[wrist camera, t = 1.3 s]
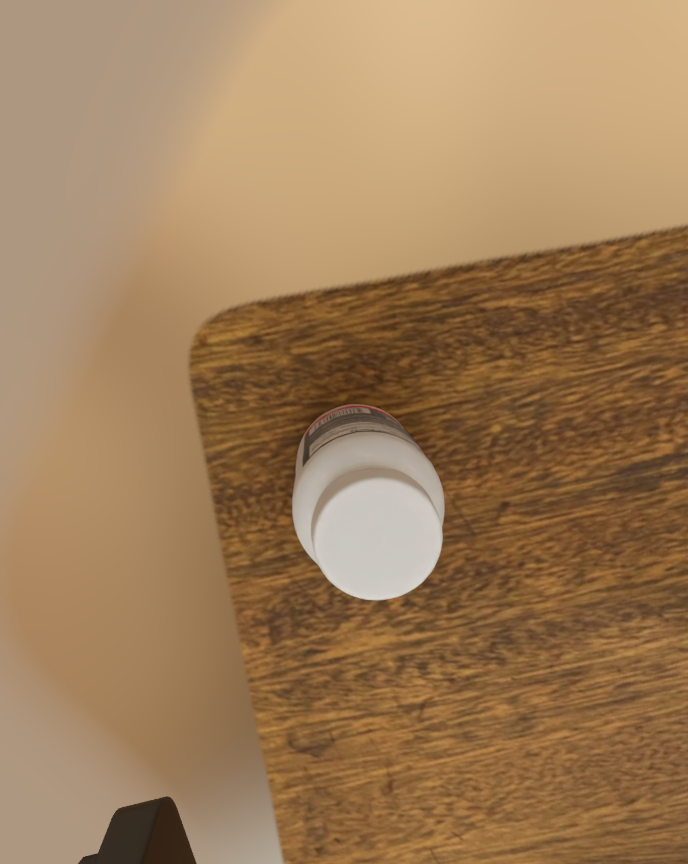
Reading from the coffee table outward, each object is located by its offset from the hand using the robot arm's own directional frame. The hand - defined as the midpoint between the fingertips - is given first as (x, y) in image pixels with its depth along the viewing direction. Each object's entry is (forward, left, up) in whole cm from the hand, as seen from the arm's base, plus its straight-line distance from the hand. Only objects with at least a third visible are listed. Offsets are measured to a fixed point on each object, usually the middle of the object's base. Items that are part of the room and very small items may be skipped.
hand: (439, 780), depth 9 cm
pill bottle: (0, 0, -20) cm, 20 cm away
